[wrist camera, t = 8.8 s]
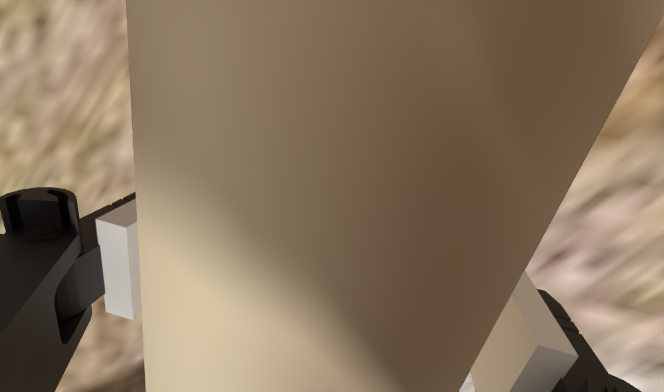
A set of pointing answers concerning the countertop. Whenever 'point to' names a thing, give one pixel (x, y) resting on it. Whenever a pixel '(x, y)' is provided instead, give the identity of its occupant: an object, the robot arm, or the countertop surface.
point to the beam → (354, 178)
